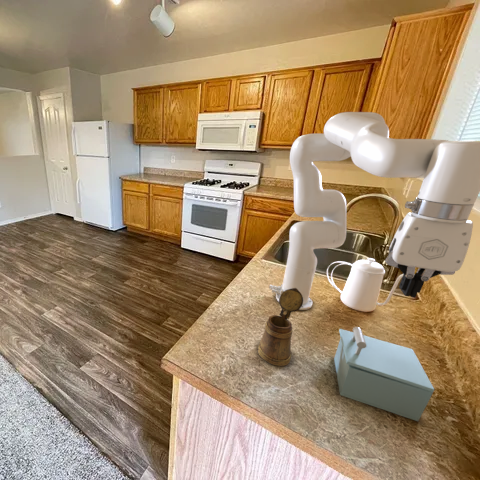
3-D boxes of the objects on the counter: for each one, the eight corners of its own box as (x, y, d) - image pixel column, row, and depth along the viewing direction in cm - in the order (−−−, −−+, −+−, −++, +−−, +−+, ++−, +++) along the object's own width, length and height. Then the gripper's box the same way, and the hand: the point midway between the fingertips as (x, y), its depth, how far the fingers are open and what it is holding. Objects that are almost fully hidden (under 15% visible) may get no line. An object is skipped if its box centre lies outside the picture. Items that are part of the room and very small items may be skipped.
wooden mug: (300, 345, 79) (313, 293, 73) (283, 371, 70) (296, 315, 64) (271, 331, 85) (280, 282, 79) (252, 353, 76) (260, 300, 70)
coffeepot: (400, 327, 87) (420, 277, 80) (317, 296, 104) (328, 253, 97) (403, 313, 94) (422, 265, 87) (325, 286, 111) (336, 245, 104)
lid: (346, 363, 61) (352, 347, 59) (338, 330, 71) (344, 316, 70) (433, 392, 55) (443, 375, 53) (411, 351, 65) (419, 336, 64)
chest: (340, 395, 64) (349, 367, 61) (334, 358, 74) (341, 333, 71) (418, 421, 58) (433, 392, 55) (399, 378, 68) (411, 351, 65)
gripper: (396, 210, 50) (368, 293, 56) (510, 220, 44) (464, 312, 50) (385, 202, 56) (361, 278, 63) (483, 210, 50) (446, 293, 57)
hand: (407, 293), depth 56 cm, fingers closed
